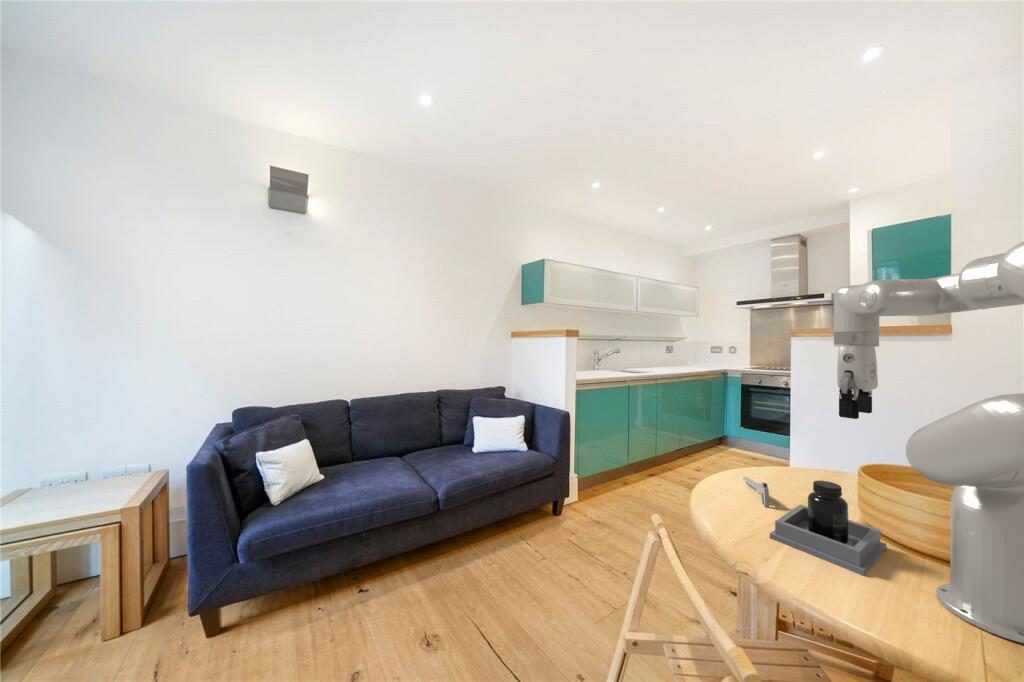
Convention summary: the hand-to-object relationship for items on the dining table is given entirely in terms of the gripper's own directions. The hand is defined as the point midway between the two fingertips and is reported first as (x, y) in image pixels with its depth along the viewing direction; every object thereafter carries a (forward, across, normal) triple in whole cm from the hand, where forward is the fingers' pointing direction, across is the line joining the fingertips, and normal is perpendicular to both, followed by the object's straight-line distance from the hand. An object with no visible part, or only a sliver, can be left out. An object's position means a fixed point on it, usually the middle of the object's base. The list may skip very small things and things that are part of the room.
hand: (855, 414), depth 83 cm
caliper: (+29, +8, +24) cm, 39 cm away
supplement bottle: (+27, -8, +3) cm, 28 cm away
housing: (+28, -8, +3) cm, 30 cm away
